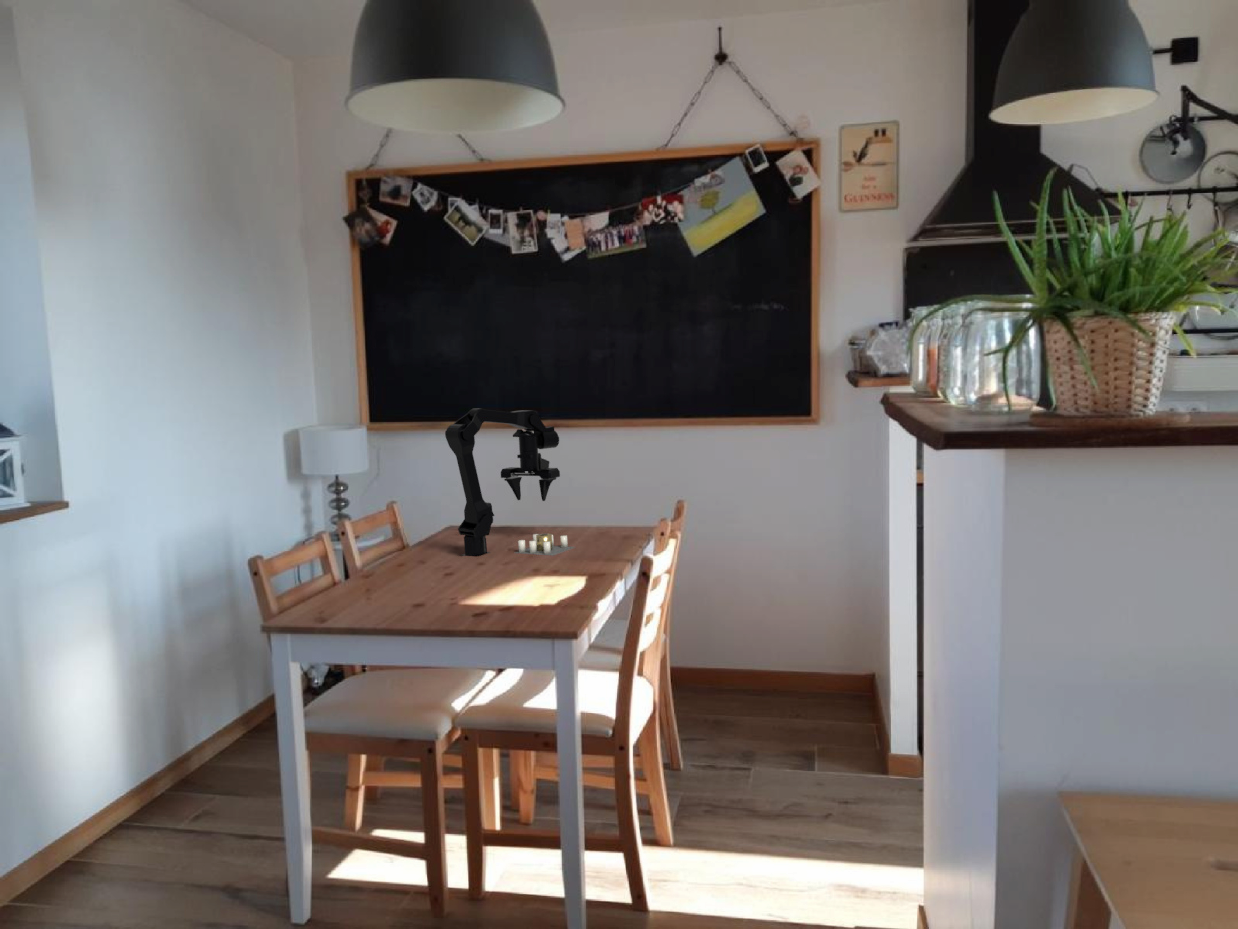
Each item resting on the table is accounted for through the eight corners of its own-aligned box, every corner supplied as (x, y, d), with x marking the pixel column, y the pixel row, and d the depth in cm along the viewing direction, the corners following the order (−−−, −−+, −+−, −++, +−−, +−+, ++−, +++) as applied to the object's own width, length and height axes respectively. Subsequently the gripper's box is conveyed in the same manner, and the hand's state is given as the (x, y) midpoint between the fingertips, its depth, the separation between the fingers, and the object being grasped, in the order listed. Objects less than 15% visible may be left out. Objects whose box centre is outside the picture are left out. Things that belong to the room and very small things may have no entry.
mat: (553, 556, 273) (553, 555, 273) (513, 554, 280) (513, 552, 280) (575, 548, 283) (575, 547, 283) (537, 545, 290) (537, 544, 290)
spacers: (548, 554, 274) (547, 542, 274) (514, 552, 280) (514, 540, 280) (569, 547, 284) (568, 535, 283) (536, 545, 290) (535, 533, 290)
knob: (546, 551, 279) (545, 536, 278) (534, 551, 281) (533, 535, 280) (555, 548, 282) (554, 533, 282) (542, 547, 285) (541, 532, 284)
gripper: (567, 448, 297) (570, 497, 298) (518, 448, 306) (521, 496, 307) (548, 451, 287) (551, 502, 289) (498, 451, 296) (501, 501, 298)
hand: (531, 500), depth 296 cm, fingers open, 9 cm apart
